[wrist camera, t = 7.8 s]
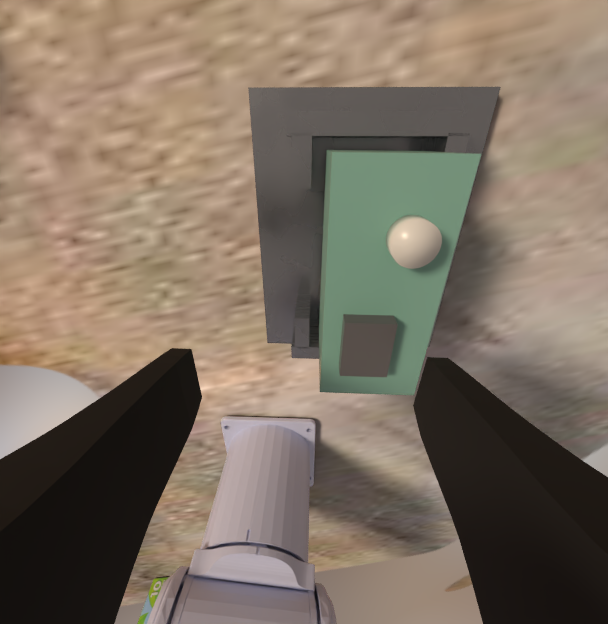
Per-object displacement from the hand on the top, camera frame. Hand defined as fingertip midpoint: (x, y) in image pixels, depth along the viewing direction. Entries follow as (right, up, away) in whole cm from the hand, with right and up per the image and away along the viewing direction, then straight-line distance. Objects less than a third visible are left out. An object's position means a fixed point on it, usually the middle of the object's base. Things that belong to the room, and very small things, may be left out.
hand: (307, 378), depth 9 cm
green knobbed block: (+3, +5, +5) cm, 8 cm away
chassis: (+3, +6, +8) cm, 10 cm away
